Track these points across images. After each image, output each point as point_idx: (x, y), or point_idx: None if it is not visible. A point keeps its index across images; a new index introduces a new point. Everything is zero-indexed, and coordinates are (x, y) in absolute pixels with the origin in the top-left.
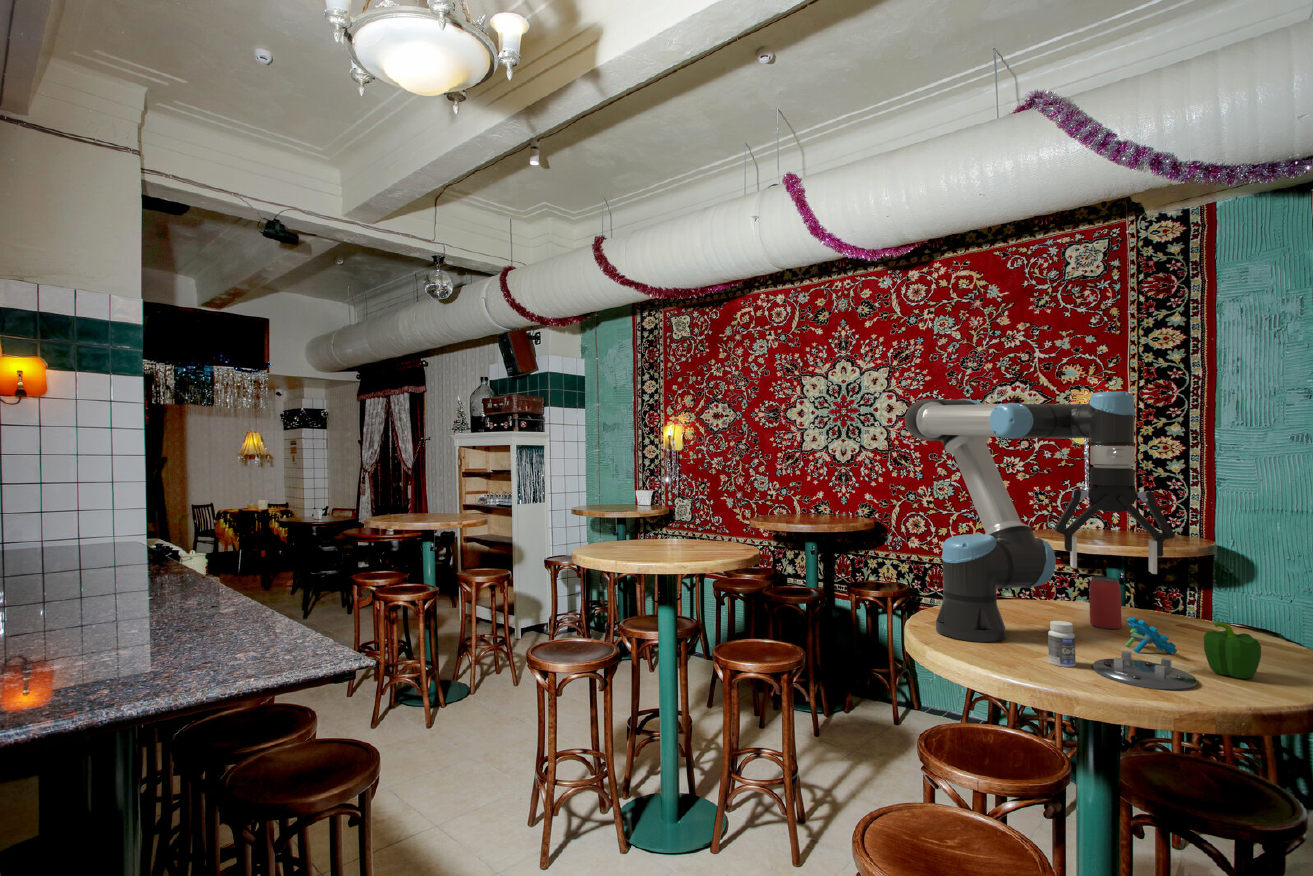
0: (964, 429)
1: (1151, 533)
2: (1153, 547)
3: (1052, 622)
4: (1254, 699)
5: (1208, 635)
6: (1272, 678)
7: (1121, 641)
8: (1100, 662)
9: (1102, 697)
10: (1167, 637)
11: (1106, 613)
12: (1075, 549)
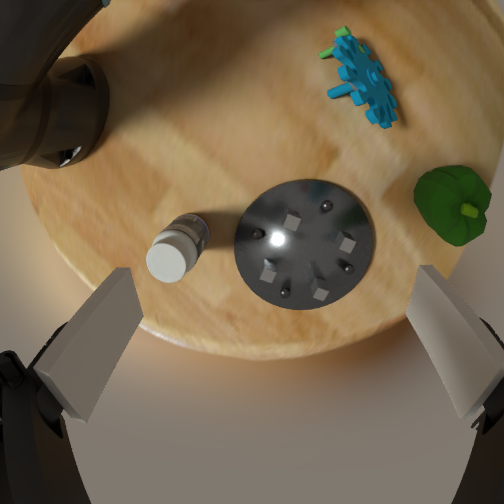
0: None
1: (472, 451)
2: (452, 395)
3: (150, 268)
4: (403, 296)
5: (439, 213)
6: None
7: (317, 21)
8: (247, 224)
9: (231, 352)
10: (390, 126)
11: None
12: (106, 372)
